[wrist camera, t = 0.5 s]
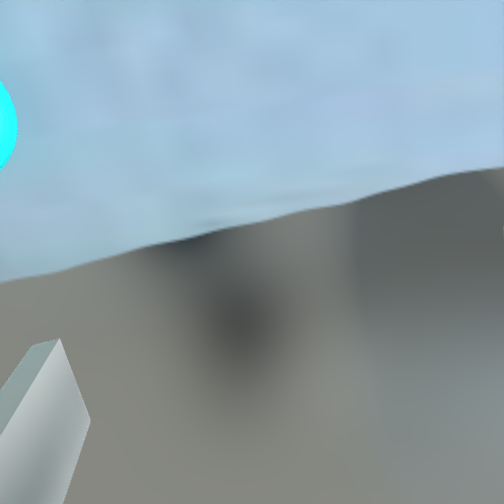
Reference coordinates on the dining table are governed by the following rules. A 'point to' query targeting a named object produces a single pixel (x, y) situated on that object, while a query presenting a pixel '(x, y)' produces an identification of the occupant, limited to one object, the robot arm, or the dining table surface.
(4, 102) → the donuts
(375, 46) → the dining table surface
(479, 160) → the dining table surface
